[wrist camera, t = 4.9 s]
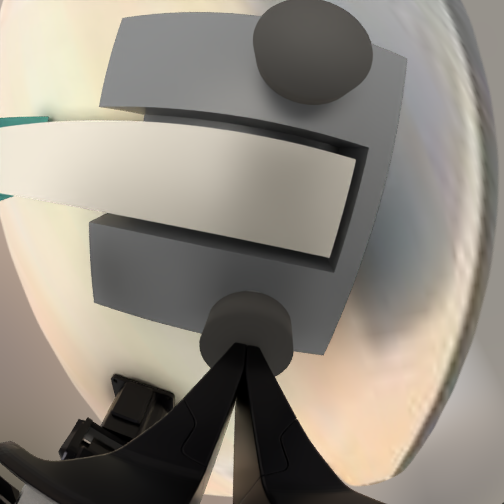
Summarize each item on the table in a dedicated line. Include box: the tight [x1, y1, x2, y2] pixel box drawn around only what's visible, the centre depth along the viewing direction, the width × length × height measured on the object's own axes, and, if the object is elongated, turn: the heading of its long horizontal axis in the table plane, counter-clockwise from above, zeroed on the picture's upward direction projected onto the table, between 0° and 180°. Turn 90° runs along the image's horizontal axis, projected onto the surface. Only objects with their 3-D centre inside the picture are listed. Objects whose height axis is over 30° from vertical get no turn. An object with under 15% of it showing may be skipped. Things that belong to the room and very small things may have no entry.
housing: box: [89, 12, 407, 355], centre depth 12 cm, size 14×12×7 cm
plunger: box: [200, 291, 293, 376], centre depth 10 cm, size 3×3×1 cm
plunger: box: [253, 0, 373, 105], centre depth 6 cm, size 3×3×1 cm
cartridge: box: [0, 117, 356, 258], centre depth 12 cm, size 5×21×5 cm, turn 79°
